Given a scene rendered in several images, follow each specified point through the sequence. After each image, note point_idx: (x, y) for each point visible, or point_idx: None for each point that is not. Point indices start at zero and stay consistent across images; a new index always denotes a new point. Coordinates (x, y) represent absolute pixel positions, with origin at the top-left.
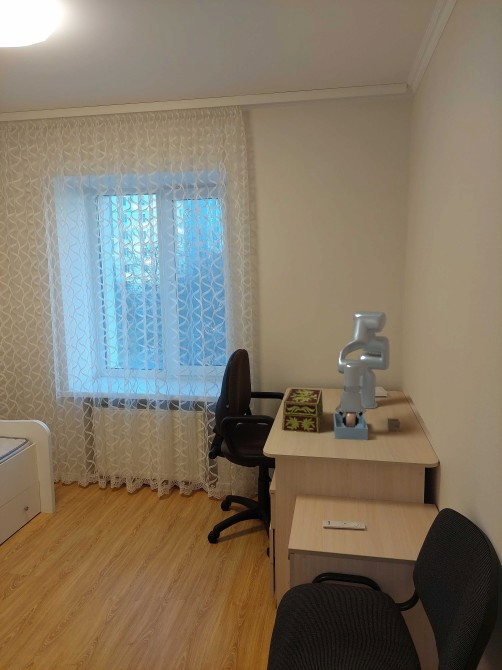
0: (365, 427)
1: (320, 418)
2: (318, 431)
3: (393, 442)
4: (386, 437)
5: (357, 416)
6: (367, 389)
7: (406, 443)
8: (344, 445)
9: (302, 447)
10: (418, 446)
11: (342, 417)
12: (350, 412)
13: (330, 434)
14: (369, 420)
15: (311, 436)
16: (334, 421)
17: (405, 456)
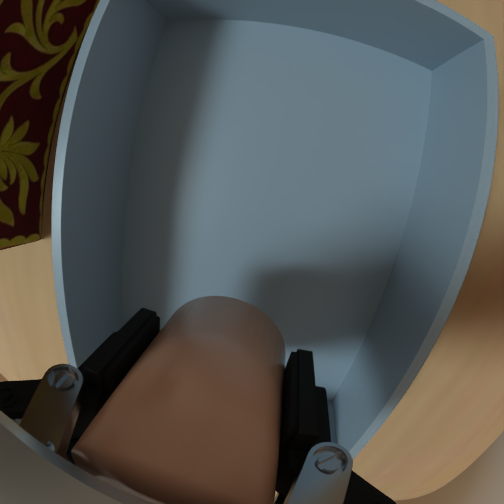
0: (370, 403)
1: (22, 81)
2: (31, 241)
3: (447, 416)
4: (467, 362)
5: (281, 502)
6: None
7: (481, 416)
8: None
9: (28, 375)
10: (489, 430)
11: (82, 366)
12: (158, 502)
13: None
14: (483, 24)
15: (22, 281)
16: (53, 262)
17: (385, 492)
